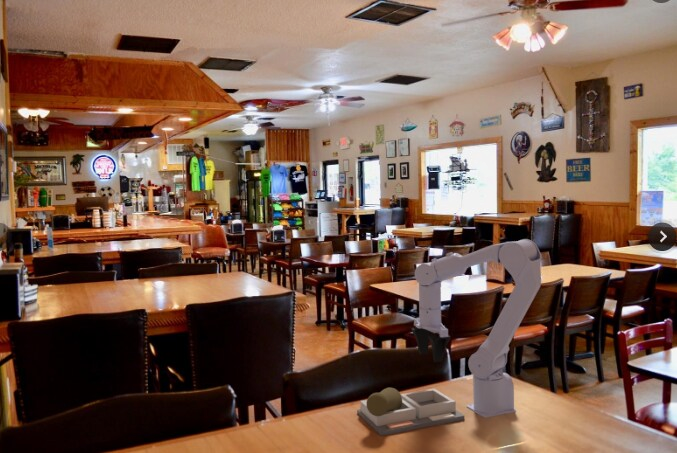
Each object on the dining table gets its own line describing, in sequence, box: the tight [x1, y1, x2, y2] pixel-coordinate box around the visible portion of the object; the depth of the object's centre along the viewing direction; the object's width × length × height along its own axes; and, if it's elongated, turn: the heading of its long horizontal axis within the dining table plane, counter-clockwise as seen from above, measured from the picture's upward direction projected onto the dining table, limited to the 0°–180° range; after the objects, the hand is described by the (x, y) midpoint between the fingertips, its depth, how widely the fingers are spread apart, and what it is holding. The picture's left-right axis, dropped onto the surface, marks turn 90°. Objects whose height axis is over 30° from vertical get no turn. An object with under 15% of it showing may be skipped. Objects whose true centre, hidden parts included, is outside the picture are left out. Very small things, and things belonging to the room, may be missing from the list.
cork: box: [366, 387, 402, 416], centre depth 130 cm, size 6×6×11 cm
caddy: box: [356, 388, 465, 437], centre depth 135 cm, size 22×14×4 cm, turn 111°
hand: (430, 357), depth 148 cm, fingers open, 7 cm apart
